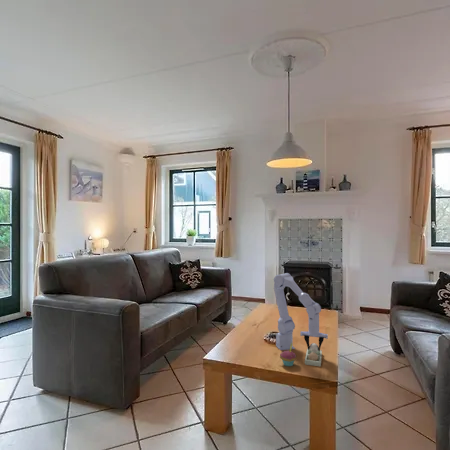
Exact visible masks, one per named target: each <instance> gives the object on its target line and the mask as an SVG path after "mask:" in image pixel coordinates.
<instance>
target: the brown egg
mask: <svg viewBox="0 0 450 450" xmlns="http://www.w3.org/2000/svg"><path fill="white" fill-rule="evenodd" d="M308 358H309V360H312V361H317V360H318V355H317V354H316V353H314V352H311V353H310V354H309V356H308Z"/></svg>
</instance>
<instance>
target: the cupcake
mask: <svg viewBox="0 0 450 450" xmlns="http://www.w3.org/2000/svg"><path fill="white" fill-rule="evenodd" d="M291 348H292V343H291V346H290V349H288V350H282V351H281V352H280V353H279V358H280V359H281V361H282V363H283V366H284V367H285V366H286V367H292V366H294V362H295V361H297V355H296V353H295V352H293V351H292V349H291Z"/></svg>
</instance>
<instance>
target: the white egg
mask: <svg viewBox="0 0 450 450" xmlns="http://www.w3.org/2000/svg"><path fill="white" fill-rule="evenodd" d="M309 349H310V351H311V352H314V353H316V352H318V350H319V344H317V343H314V342H312V343H310V344H309Z"/></svg>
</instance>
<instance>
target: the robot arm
mask: <svg viewBox="0 0 450 450" xmlns="http://www.w3.org/2000/svg"><path fill="white" fill-rule="evenodd" d="M286 287H288V288H290V289H291V290H292V292H294V294H295V295H296V296H298V301H299V302H300V303H301V304H302V305H303V306H304V308H305V310H306V313H307V315H308V316H307V317H308V330H307V331H304V330H303V331H302V330H301V331H300V337H303V339H304V341H305V343H306V346H307V349H308V350H309V346H310V337H312V338H318V347H319V351H320V350H321V347H322V344H323V342H324V339H326V340H327V339H328V333H323V332H320V313H321V312H322V306H321V305H320V304H319V303H318V302H316V301H314V300H313V299H312V298H311V297H310V294H308V293H307V292H304V291H303V290H302V289H301V288H300V287H299V286H298V284H297V283H296V282H295V280H294V277H293V276H292V275H291V274H290V273H288V272H285V273H281V274H276V275H275V276H274V278H273V291H274V296H275V300H276V305H277V309H278V314H279V318H278V320H277V330H278V332H277V333H276V334H275V346H276V348H278V350H280V351H287V350H290V346H291V343H292V348H291V350H295V349H296V347H294V346H293V343H294V342H293V339H294V337H293V335H294V334H293V333H294V330H295V327H296V325H295V322H294V319H293V318H292V316H290V315H289V310H288V306H287V305H288V304H287V301H286V296H285V292H284V290H285V288H286Z"/></svg>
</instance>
